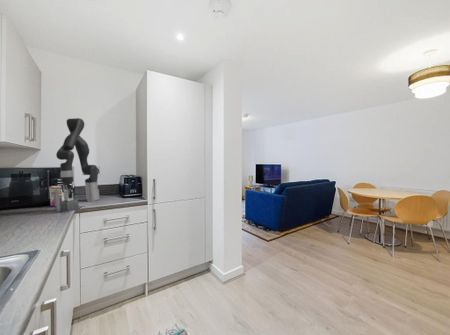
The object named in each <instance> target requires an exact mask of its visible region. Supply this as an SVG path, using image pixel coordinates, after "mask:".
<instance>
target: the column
mask: <svg viewBox="0 0 450 335" xmlns="http://www.w3.org/2000/svg"><path fill="white" fill-rule="evenodd" d="M63 190H64V192H63V193H64V194H63V195H64V201H65V202H69V201H73V199H74V192H73V193H72V196H73V198H69V193H68V190H67V188H63ZM69 190H70V189H69ZM72 191H73V190H72Z"/></svg>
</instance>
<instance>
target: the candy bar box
mask: <svg viewBox="0 0 450 335" xmlns="http://www.w3.org/2000/svg"><path fill="white" fill-rule="evenodd" d="M63 188H64V187H63ZM54 191H59V193H61V192H62V189H61V185H53V186H48V193H49V204H50V207H55V199H54ZM63 194H64V193H63V192H62V194H61V195H59V200H60V201H64V195H63Z"/></svg>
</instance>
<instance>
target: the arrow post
mask: <svg viewBox="0 0 450 335" xmlns="http://www.w3.org/2000/svg"><path fill="white" fill-rule="evenodd" d="M61 194H62V192H61V193H59V191H54V199H55V206H54V210H56V211H55V213H56V214H58V213H61V212H60V200H59V195H61Z"/></svg>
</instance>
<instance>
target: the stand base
mask: <svg viewBox="0 0 450 335" xmlns="http://www.w3.org/2000/svg"><path fill="white" fill-rule="evenodd" d="M82 207H85V208H86V206H85V205H84V206H83V205H79V199H74V198H73V201H69V202H65V201H60V212H59V213H63V212H64V213H65V214H66V212H67V213H70V212H69V211H71V212H74V211H79V210H81V209H80V208H82ZM82 209H83V208H82ZM73 210H74V211H73ZM53 212H56V210H55V209H53ZM64 213H63V214H64Z"/></svg>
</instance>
